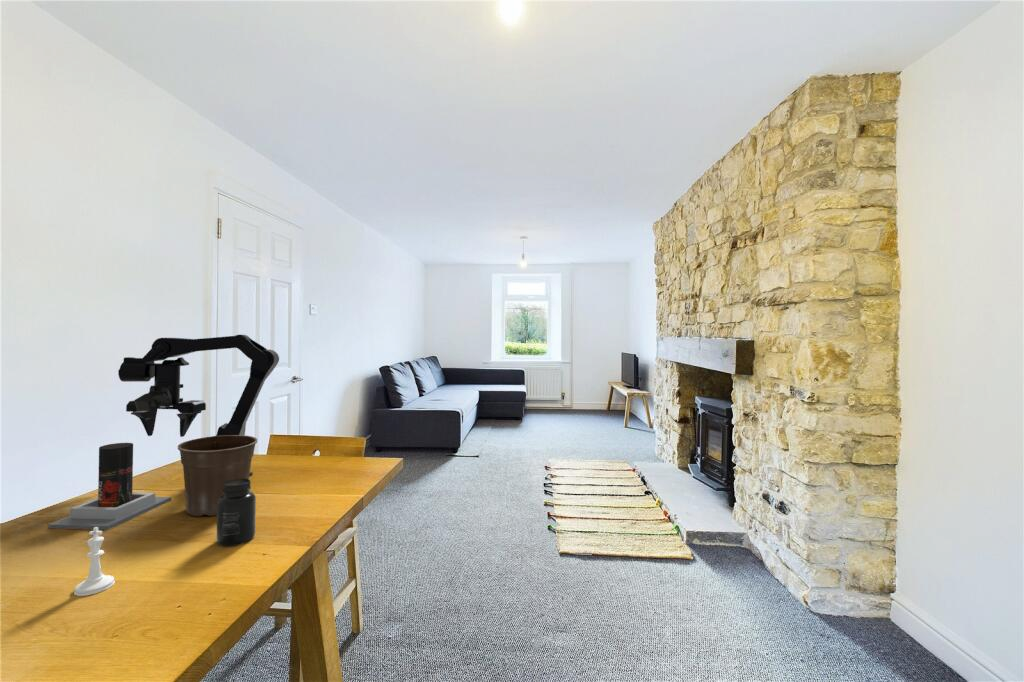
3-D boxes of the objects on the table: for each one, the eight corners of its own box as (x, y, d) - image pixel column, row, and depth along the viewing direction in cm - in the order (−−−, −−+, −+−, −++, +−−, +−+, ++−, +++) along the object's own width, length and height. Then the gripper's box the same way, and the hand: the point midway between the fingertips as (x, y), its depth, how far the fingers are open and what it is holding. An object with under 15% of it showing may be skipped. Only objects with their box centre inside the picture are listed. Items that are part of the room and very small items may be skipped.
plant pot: (270, 502, 110) (272, 439, 110) (202, 526, 95) (204, 454, 95) (230, 491, 117) (231, 432, 117) (161, 512, 102) (162, 444, 102)
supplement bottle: (262, 535, 92) (264, 479, 92) (232, 549, 86) (234, 489, 86) (239, 529, 94) (240, 475, 94) (208, 543, 88) (209, 484, 88)
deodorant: (138, 505, 104) (139, 443, 104) (113, 515, 98) (114, 449, 98) (117, 503, 105) (118, 442, 105) (90, 513, 99) (91, 448, 99)
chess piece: (91, 579, 74) (93, 521, 74) (122, 578, 75) (123, 521, 75) (64, 596, 70) (66, 534, 69) (97, 595, 70) (99, 534, 70)
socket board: (171, 500, 110) (171, 488, 110) (107, 529, 93) (107, 515, 93) (120, 498, 110) (120, 487, 110) (48, 528, 93) (48, 514, 93)
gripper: (108, 383, 115) (107, 442, 115) (178, 385, 115) (177, 443, 115) (143, 379, 126) (142, 433, 126) (207, 381, 126) (206, 434, 126)
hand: (166, 436), depth 123 cm, fingers open, 9 cm apart
